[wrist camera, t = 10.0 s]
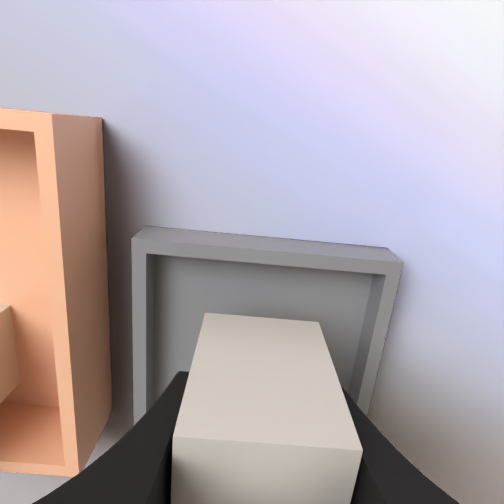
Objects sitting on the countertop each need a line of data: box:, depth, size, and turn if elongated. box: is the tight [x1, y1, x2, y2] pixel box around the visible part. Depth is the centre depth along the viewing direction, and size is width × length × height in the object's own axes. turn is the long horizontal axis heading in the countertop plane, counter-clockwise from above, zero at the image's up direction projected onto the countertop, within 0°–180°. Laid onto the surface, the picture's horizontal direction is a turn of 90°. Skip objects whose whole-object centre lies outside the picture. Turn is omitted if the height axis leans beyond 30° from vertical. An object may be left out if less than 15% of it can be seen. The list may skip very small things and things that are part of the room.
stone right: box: [171, 313, 363, 504], centre depth 12 cm, size 4×4×6 cm
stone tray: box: [131, 226, 404, 425], centre depth 18 cm, size 16×11×2 cm
